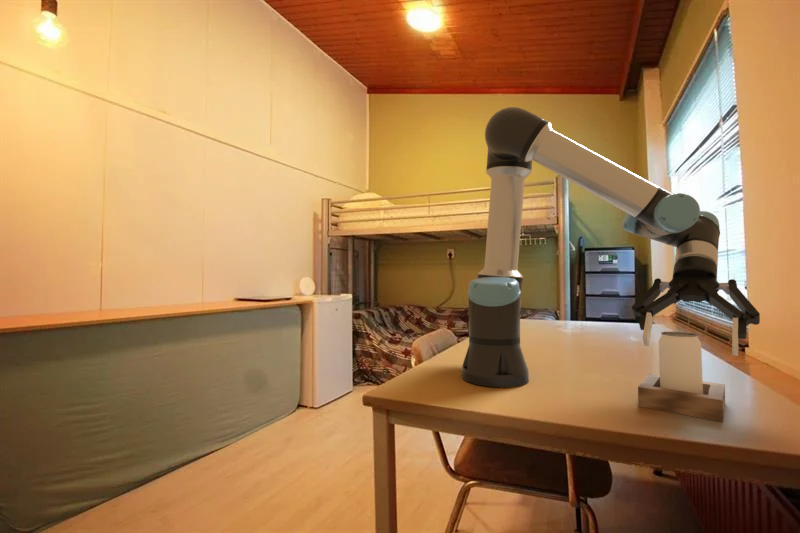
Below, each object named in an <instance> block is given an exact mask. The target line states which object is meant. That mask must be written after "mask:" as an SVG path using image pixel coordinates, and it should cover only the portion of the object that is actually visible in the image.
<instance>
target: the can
mask: <svg viewBox="0 0 800 533" xmlns="http://www.w3.org/2000/svg"><path fill="white" fill-rule="evenodd" d="M660 334H661V336H660V337H659V340H658V359H659V362H658V364H659V375H660V388H666V389H672V390H678V391H685V392H691V393H697V394H703V381H704V380H703V356H702V354H703V353H702V352H703V351H702V344H701V341H700V339H699V338H698V336H699V334H698V333H693V332H686V331H662V332H660Z"/></svg>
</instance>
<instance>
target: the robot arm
mask: <svg viewBox="0 0 800 533" xmlns="http://www.w3.org/2000/svg"><path fill="white" fill-rule="evenodd" d="M485 126H486V127H485V132H484V138H485V143H486V147H487V157H486V170H485V171H486V172H485V173H486V174H487V176H488V177H489V178H490V179H491V181H490V191H489V192H490V193H489V206H488V220H487V230H486V231H487V232H486V242H485V243H486V244H485V254H484V255H485V256H484V267H483V268H482V269H481V270H480V271H479V272H478V274H477V275H478V276H477V278H474V279H472V280H470V282H469V283H468V290H467V297H468V298H467V299H468V347H467V350H466V354H465V356H464V359H463V363H462V366H461V378H462V380H464V381H465V382H467V383H470V384H473V385H477V386H482V387H490V388H511V387H512V388H513V387H521V386H523V385H526V384H527V383H529V380H530V374H529V373H530V372H529V368H528V365H527V362H526V358H525V356H524V353H523V351H522V348H521V347H522V346H521V310H522V305H523V304H522V303H523V300H522V294H523V279H524V276H523V275H522V273H521V272H520V271H519V268H518V266H519V257H520V256H519V255H520V242H521V232H522V218H523V217H522V215H523V206H524V205H523V204H524V193H525V180H526V179H527V178H528V177H529V176H530V175H532V169H533V162H535V163H537V164H539V165H540V166H542V167H544V168H546V169H548V170H550V171H551V172H552V173H553V172H554V173H555V174H556V175H557V176H560V177H562V178H563V179H565V180H566V181H569V182H570V183H572V184H574V185H576V186H579V187H580V188H582V189H584V191H587V192H589V193H591V194H592V195H594V196H596V197H598V198H600V199H601V200H603V201H605V202H606V203H609V204H611V205H612V206H614V207H615V208H618V209H619V210H620V211H623V212H624V213H625V214H624V217H623V219H622V223H621V229H622V230H623V231H626V232H628V233H631V234H633V235H634V236H636V235H637V236H640V237H642V238H646V239H649V240H652V241H656V242H659V243H662V244H665V245H668V246H672V247H674V248H675V257H674V265H673V271H672V272H673V273H672V279H671V280H670V281H662V279H661V278H659V277H658V278H655V279H654V281H653V283H652V285H651V287H650V288H649V289H648V290H646V291H645V293H644V294H642V296H641V297H639V299H638V300H637V301H636V302H634V304H633V305H632V306H631V310H632V314H633V316H634V317H640V318H639V323H638V324H639V329H640V330H641V331H643V334H642V341H643V345H644V346H646V347H649V346H650V341H651V335H652V329H653V323H654V322H653V321H654V320H653V317H654V316H656V315H657V314H659V313H660V312H662V311H663V310H665V309H667V308H668V307H670V306H671V305H673V304H674V305H675V304H677V303H678V302H680V301H682V302H688V303H689V302H696V303H703V302H706V303H708V304H709V305H710V306H713V307H715V308H716V309H718V310H719V311H720V312H721V313H723V314H724V315H725V316H726V317H728V318H729V319H730V320H731V321H732V331H731V333H732V335H731V340H732V341H731V350H732V356H736V357H738V356H739V339H740V340H742V339H743V340H746V339H747V337H748V335H747V333H748V330H747V329H748V326H749V325H755V326H758V325H759V324H760V322H761V321H760V320H761V317H760V316H761V314H760V312H759V310H758V309H757V308H756V307H755V306H754V305H753V304H752V303H751V301H750V300H749V299H748V298H747V297H746V296H745V295H744V294H743V292H742V291H741V290H740V289H739V288H738V284H737V280H736V279H734V278H733V279H729V280H728V281H727V282H718V280H717V279H718V264H719V263H718V262H719V240H720V235H721V229H720V222H719V219H718V217H717V216H716V215H715V214H714V213H712V212H709V211H706V210H701V208H700V205H699V202H698V201H697V200H696V198H694V197H693V196H692V195H689V194H686V193H682V192H681V193H680V192H679V193H678V192H677V193H676V192H675V193H672V192H670V191H668V190H666V189H664V188H663V187H660V186H658V185H656V184H654V183H652V182H651V181H648V180H647V179H645V178H643V177H641V176H639V175H638V174H636V173H633V172H632V171H630V170H629V169H626V168H625V167H623V166H621V165H619V164H617V163H615V162H614V161H611V160H610V159H608V158H606V157H604V156H602V155H600V154H598V153H597V152H594V151H593V150H591V149H589V148H587V147H586V146H584V145H582V144H580V143H578V142H577V141H574V140H573V139H571V138H568V136H565V135H563V134H561V133H560V132H557V131H556V130H554V129H553V128H552V127H553V126H552V123H551V122H550V121H548V120H546V119H544V118H542V117H540V116H539V115H537V114H535V113H532V112H531V111H529V110H526V109H524V108H521V107H515V106H510V107H506V108H502V109H500V110H498V111H497V112H495V113H494V114H493V115H492V116H491V117H490V118H489V120H488V121H487V124H486V125H485ZM667 289H668V290H667ZM666 290H667V291H666ZM720 290H721V291H723V292H724V293H725V294H726V295H729V297H730V299H731V300H732V301H733V302H734V304H735V305H736V306H737V307H736V306H734V305H733V304H732V303H731V302H729V300H727V299H725V298H724V297H723V296H721V295H720V294H719V293H718V292H719V291H720ZM665 291H666V293H664V292H665ZM661 293H664V294H663V295H661ZM660 295H661V296H660Z"/></svg>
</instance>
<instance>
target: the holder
mask: <svg viewBox="0 0 800 533" xmlns="http://www.w3.org/2000/svg"><path fill="white" fill-rule="evenodd" d="M637 403H638V405H637V407H642V408H647V409H652V410H657V411H664V412H668V413H674V414H679V415H684V416H689V417H694V418H701V419H706V420H711V421H716V422H719V423H721V422H722V423H724V416H725V407H726V384H725V383H717V382H711V381H704V380H703V394H697V393H691V392H685V391H678V390H672V389H666V388H660V374H654V373H649V374H647V376H646V377H645V378H644V379H643V380H642V381H641V383H640V384H639V385H638V386H637Z"/></svg>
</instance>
